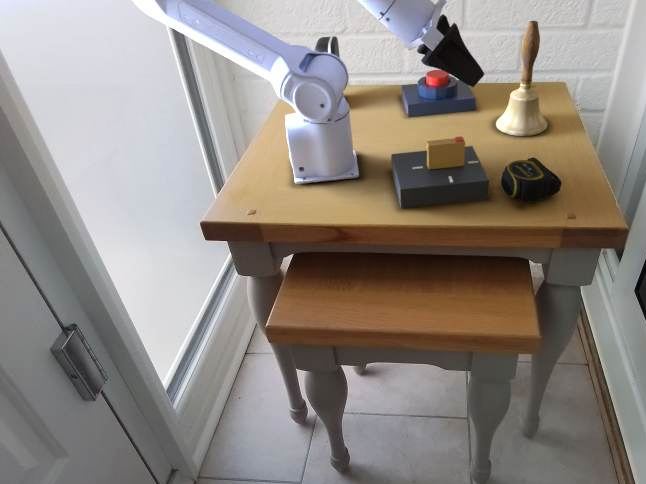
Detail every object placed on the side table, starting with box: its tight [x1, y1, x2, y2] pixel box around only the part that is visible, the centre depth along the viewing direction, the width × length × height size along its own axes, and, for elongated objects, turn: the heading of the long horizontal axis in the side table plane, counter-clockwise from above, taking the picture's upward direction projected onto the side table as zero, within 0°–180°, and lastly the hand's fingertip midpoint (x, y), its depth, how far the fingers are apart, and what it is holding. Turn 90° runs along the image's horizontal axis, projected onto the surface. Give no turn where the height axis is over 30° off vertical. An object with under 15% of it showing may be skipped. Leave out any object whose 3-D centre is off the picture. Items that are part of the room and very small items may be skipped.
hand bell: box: [495, 20, 548, 137], centre depth 84 cm, size 8×8×16 cm
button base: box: [400, 74, 477, 118], centre depth 96 cm, size 12×9×4 cm
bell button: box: [425, 69, 450, 87], centre depth 94 cm, size 4×4×2 cm
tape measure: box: [500, 157, 562, 203], centre depth 72 cm, size 7×7×4 cm
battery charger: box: [313, 35, 345, 97], centre depth 96 cm, size 7×4×11 cm, turn 179°
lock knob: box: [426, 135, 466, 169], centre depth 73 cm, size 5×1×4 cm, turn 96°
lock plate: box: [391, 145, 490, 209], centre depth 75 cm, size 12×10×3 cm
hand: (473, 74), depth 70 cm, fingers open, 7 cm apart
